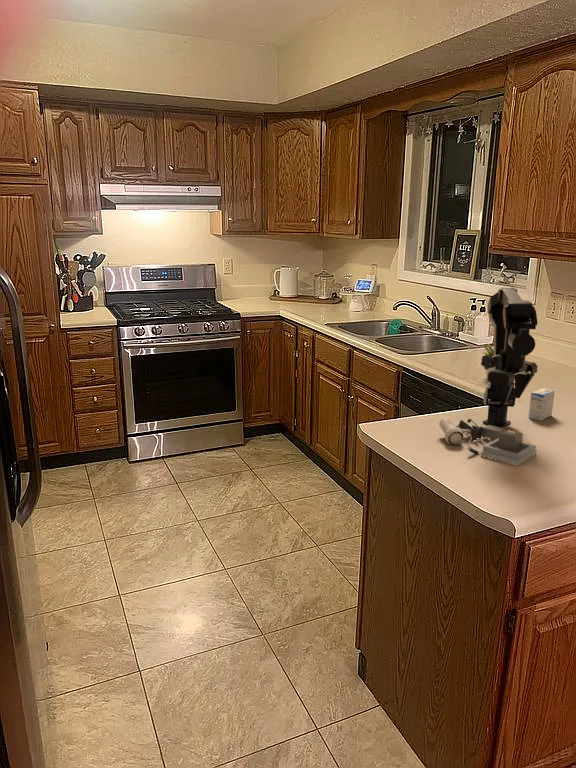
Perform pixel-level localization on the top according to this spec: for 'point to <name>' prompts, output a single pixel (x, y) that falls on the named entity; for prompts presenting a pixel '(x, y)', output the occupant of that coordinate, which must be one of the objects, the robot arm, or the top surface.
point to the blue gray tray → (508, 453)
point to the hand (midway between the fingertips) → (510, 401)
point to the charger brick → (510, 441)
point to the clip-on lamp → (462, 432)
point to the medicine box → (541, 404)
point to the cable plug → (492, 432)
